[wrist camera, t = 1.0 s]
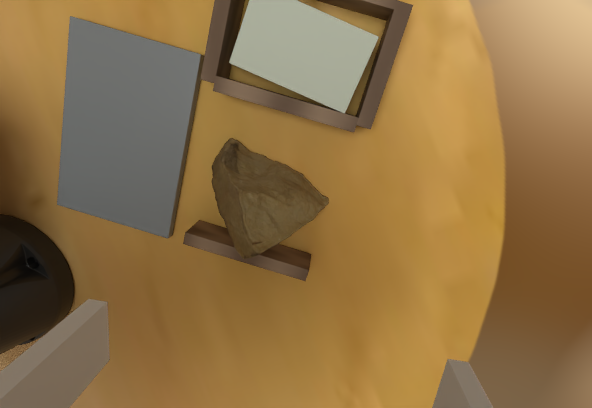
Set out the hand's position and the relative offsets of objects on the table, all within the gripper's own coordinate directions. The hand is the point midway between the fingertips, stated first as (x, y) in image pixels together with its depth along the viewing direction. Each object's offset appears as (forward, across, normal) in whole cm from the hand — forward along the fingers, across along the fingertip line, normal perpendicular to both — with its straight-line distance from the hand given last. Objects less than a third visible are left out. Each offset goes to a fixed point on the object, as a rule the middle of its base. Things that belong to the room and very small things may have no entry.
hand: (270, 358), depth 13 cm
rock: (+22, -4, +2) cm, 22 cm away
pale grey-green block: (+22, -2, +13) cm, 26 cm away
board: (+22, -18, +4) cm, 28 cm away
